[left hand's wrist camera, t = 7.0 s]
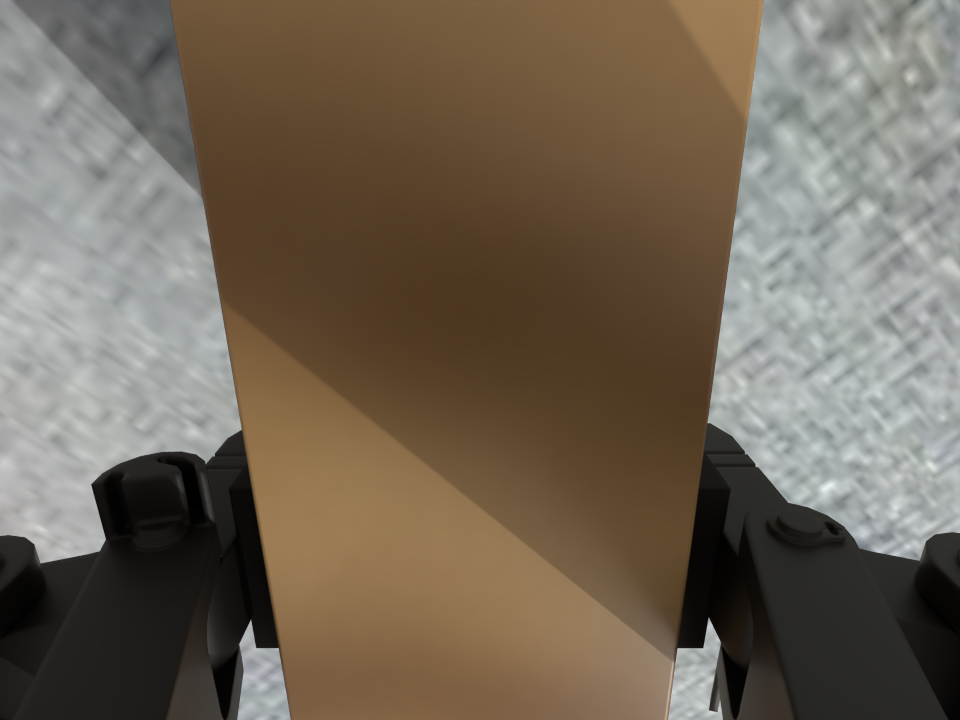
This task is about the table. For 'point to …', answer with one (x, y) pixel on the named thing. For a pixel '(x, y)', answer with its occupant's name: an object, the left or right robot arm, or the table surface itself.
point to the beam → (472, 333)
